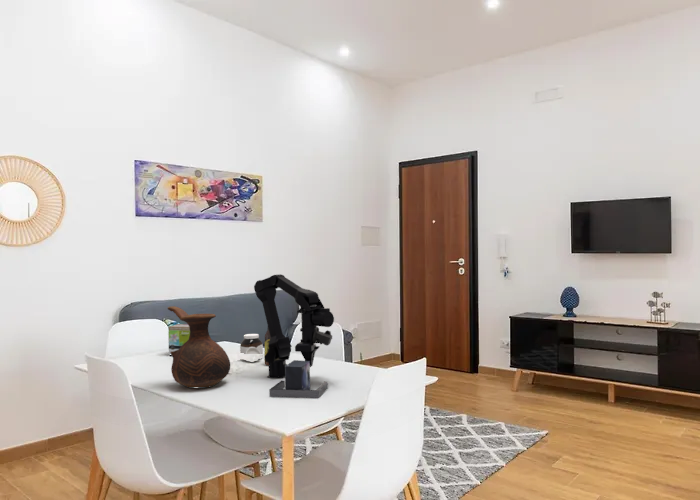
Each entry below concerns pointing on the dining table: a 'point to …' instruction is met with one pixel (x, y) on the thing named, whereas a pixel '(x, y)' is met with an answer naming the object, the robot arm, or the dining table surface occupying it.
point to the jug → (198, 354)
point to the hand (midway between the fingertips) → (310, 366)
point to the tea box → (178, 336)
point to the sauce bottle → (267, 344)
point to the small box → (297, 375)
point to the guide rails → (297, 391)
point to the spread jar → (251, 344)
